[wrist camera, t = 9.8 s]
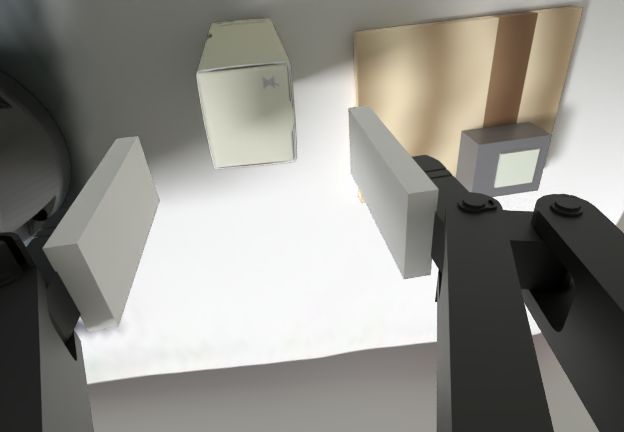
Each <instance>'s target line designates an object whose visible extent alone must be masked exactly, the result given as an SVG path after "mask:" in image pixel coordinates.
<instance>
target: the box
mask: <svg viewBox="0 0 624 432" xmlns="http://www.w3.org/2000/svg"><path fill="white" fill-rule="evenodd" d="M196 77H197V84H198V91H199V97H200V103H201V109H202V114H203V120H204V125H205V130H206V135H207V139H208V144H209V148H210V153H211V157H212V161H213V165H214V167H215V168H216V169H226V168H239V167H251V166H264V165H274V164H283V163H292V162H295V160H296V158H297V141H296V121H295V107H294V94H293V83H292V72H291V63H290V61H289V58H288V56H287V54H286V52H285V50H284V47H283V45H282V43H281V41H280V38H279V36H278V34H277V32H276V30H275V28H274V25H273V23H272V20H271V19H270V18H265V19H247V20H236V21H224V22H216V23H212V24H211V26H210V29H209V32H208V36H207V40H206V43H205V46H204V50H203V54H202V57H201V60H200V64H199V67H198V70H197V74H196Z"/></svg>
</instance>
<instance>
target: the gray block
mask: <svg viewBox="0 0 624 432" xmlns="http://www.w3.org/2000/svg"><path fill="white" fill-rule="evenodd" d="M551 137H552V134H550V133H548V132H546V131H545V130H543V129H541V128H540V127H538V126H536V125H534V124H533V123H531V122H524V123H516V124H509V125H502V126H494V127H487V128H479V129H472V130H465V131H461V139H460V147H459V155H458V163H457V171H456V179H457V180H458V181H459V182H460V183H461V184H462V185H463V186H464V187H465V188H466V189H467V190H468V191H469V192H474V193H481V194H485V195H487V196H490V197H496V196H502V195H509V194H516V193H523V192H529V191H536V190H538V188H539V184H540V180H541V176H542V172H543V168H544V165H545V161H546V157H547V153H548V149H549V145H550V141H551Z"/></svg>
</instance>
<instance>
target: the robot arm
mask: <svg viewBox="0 0 624 432" xmlns="http://www.w3.org/2000/svg"><path fill="white" fill-rule="evenodd" d="M348 109H349V136H350V164H351V175H352V177H353V179H354V181H355V183H356V184H357V186H358V188H359V190H360V192H361V194H362V196H363V198H364V200H365V202H366V204H367V206H368V208H369V210H370V212H371V214H372V216H373V218H374V220H375V222H376V224H377V226H378V228H379V230H380V232H381V234H382V236H383V238H384V240H385V242H386V244H387V246H388V248H389V250H390V252H391V254H392V256H393V258H394V260H395V262H396V264H397V266H398V268H399V270H400V272H401V274H402V276H403V278H404V279H408V278H414V277H420V276H426V275H430V274H431V264H432V259H433V260H434V262H435V264H436V265H437V267H438V268H439V272H438V281H437V290H436V299H435V302H437V432H554V430H553V426H552V421H551V417H550V413H549V408H548V404H547V400H546V396H545V391H544V387H543V383H542V378H541V374H540V370H539V365H538V361H537V356H536V352H535V348H534V343H533V339H532V335H531V330H530V326H529V322H528V317H527V313H526V309H525V305H526V306H527V308H528V310H529V311H530V313H531V315H532V317H533V318H534V320H535V322H536V323H537V325H538V327H539V329H540V330H541V332H542V334H543V335H544V337H545V339H546V341H547V342H548V344H549V346H550V348H551V349H552V351H553V352H554V354H555V356H556V358H557V360H558V361H559V363H560V365H561V366H562V368H563V370H564V372H565V373H566V375H567V377H568V378H569V380H570V382H571V383H572V385H573V387H574V389H575V390H576V392H577V394H578V396H579V397H580V399H581V401H582V403H583V404H584V406H585V408H586V409H587V411H588V413H589V415H590V416H591V418H592V420H593V421H594V423H595V425H596V427H597V428H598V430H599V432H624V233H623V232H622V231H621V230H620V229H619V228H617V227H616V226H615V225H614V224H613V223H612V222H611V221H610V220H609V219H608V218H607V217H606V216H605V215H604V214H603V213H602V212H600V211H599V210H598V209H597V208H596V207H595V206H594V205H592V204H591V203H589V202H588V201H586V200H583V199H581V198H578V197H576V196H572V195H570V196H569V195H567V194H552V195H546V196H543V197H541V198H539V199H538V200H537V202H536V205H535V209H534V212H530V211H508V210H503V209H502V206H501V205H500V203H499V202H498V201H497V200H495V199H494V198H492V197H490V196H487V195H485V194H481V193H474V192H469V191H468V190H467V189H466V188H465V187H464V186H463V185H462V184H461V183H460V182H459V181H458V180H457V179H456V178H455V177H454V176H452V174H451V172H450V171H449V170H446V167H445V166H444V165H443V164H442V163H441V162H440V161H439V160H437V159H435V158H433V157H430V156H428V155H420V156H413V157H411V156H410V155H409V153H408V152H407V151H406V150H405V149H404V147H403V146H402V145H401V144H400V143H399V141H398V140H397V139H396V138H395V137H394V135H393V134H392V133H391V132H390V131H389V130H388V128H387V127H386V126H385V125H384V124H383V122H382V121H381V120H380V119H379V118H378V116H377V115H376V114H375V113H374V112H373V110H372V109H371V108H370V107H369V106H360V107H353V108H348ZM70 181H71V163H70V157H69V152H68V149H67V146H66V143H65V141H64V138H63V136H62V134H61V132H60V130H59V129H58V127H57V125H56V123H55V122H54V120H53V119H52V117H51V116H50V115H49V113H48V112H47V111H46V110H45V108H44V107H43V106H42V105H41V104H40V103H39V102H38V101H37V100H36V99H35V97H34V96H32V95H31V94H30V93H29V92H28V91H27V90H26V89H25V88H24V87H22V86H21V85H20V84H19V83H17V82H16V81H15V80H13V79H12V78H11V77H9V76H8V75H6V74H5V73H3V72H2V71H0V432H94V429H93V422H92V415H91V408H90V402H89V395H88V388H87V381H86V374H85V367H84V360H83V354H82V347H81V341H80V339H79V337H78V335H77V334H76V332H75V330H74V328H75V326H76V323H77V321H78V319H79V317H81V319H82V320H83V322H84V324H85V326H86V328H87V329H88V331H94V330H100V329H106V328H112V327H118V326H119V323H120V320H121V317H122V314H123V311H124V308H125V305H126V302H127V299H128V296H129V293H130V289H131V286H132V283H133V280H134V277H135V274H136V271H137V268H138V265H139V262H140V259H141V256H142V253H143V250H144V247H145V244H146V241H147V238H148V235H149V232H150V229H151V226H152V223H153V220H154V217H155V213H156V210H157V207H158V204H159V201H160V200H159V197H158V194H157V191H156V188H155V185H154V182H153V179H152V176H151V173H150V170H149V167H148V164H147V161H146V158H145V155H144V152H143V149H142V146H141V143H140V141H139V138H138V136H133V137H125V138H117V139H116V140H115V141H114V143H113V144H112V146H111V147H110V149H109V150H108V152H107V153H106V155H105V156H104V158H103V159H102V161H101V162H100V164H99V165H98V167H97V168H96V170H95V171H94V173H93V174H92V176H91V177H90V178H89V180H88V181H87V183H86V184H85V186H84V187H83V189H82V190H81V192H80V193H79V195H78V196H77V198H76V199H75V201H74V202H73V204H72V205H71V207H64V208H61V209H59V208H60V206H61V205H62V203H63V202H64V200H65V198H66V196H67V193H68V190H69V186H70ZM58 209H59V210H58ZM35 234H36V235H35ZM34 235H35V236H34ZM32 236H34V239H32V240H31V242H30V243H29V244H28V246H27V247H25V245H24V243H23V241H25V240H27V239H29V238H31V237H32ZM524 303H525V304H524Z"/></svg>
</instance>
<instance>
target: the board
mask: <svg viewBox="0 0 624 432" xmlns="http://www.w3.org/2000/svg"><path fill="white" fill-rule="evenodd" d="M582 10H583V8H582V7H576V6H568V7H559V8H551V9H542V10H534V11H525V12H517V13H508V14H500V15H491V16H483V17H474V18H466V19H457V20H449V21H440V22H432V23H423V24H415V25H406V26H398V27H389V28H381V29H372V30H364V31H355V32H354V69H355V106H356V107H360V106H369V107H370V108H371V109H372V110H373V112H374V113H375V114H376V115H377V116H378V118H379V119H380V120H381V121H382V122H383V124H384V125H385V126H386V127H387V128H388V130H389V131H390V132H391V133H392V134H393V135H394V137H395V138H396V139H397V140H398V141H399V143H400V144H401V145H402V146H403V147H404V149H405V150H406V151H407V152H408V153H409V155H410V156H411V157H413V156H420V155H428V156H430V157H433V158H435V159H437V160H439V161H440V162H441V163H442V164H443V165H444V166H445V167H446V170H449V171H450V172H451V174H452V176H454V177H455V178H456V171H457V163H458V155H459V147H460V139H461V131H465V130H472V129H479V128H487V127H494V126H502V125H509V124H516V123H524V122H531V123H533V124H534V125H536V126H538V127H540V128H541V129H543V130H545V131H546V132H548V133H550V134H552V131H553V127H554V123H555V119H556V115H557V111H558V107H559V103H560V99H561V95H562V91H563V87H564V83H565V79H566V74H567V70H568V66H569V62H570V58H571V54H572V50H573V46H574V42H575V38H576V34H577V30H578V26H579V22H580V18H581V14H582ZM358 198H359V200H360V202H361V203H366V202H365V200H364V198H363V196H362V194H361V192H360V190H359V188H358Z"/></svg>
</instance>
